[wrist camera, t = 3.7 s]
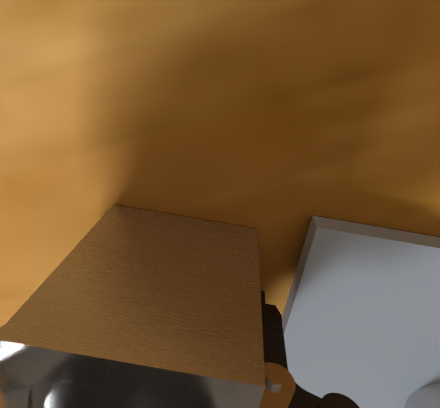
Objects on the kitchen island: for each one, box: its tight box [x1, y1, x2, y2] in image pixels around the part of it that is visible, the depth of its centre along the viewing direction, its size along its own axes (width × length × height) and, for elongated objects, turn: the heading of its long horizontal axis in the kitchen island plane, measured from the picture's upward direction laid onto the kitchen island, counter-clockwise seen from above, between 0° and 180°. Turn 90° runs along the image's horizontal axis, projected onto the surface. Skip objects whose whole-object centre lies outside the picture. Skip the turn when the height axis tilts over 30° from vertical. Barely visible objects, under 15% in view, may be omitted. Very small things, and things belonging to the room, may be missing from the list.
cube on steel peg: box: [0, 205, 265, 408], centre depth 13 cm, size 10×6×7 cm, turn 171°
